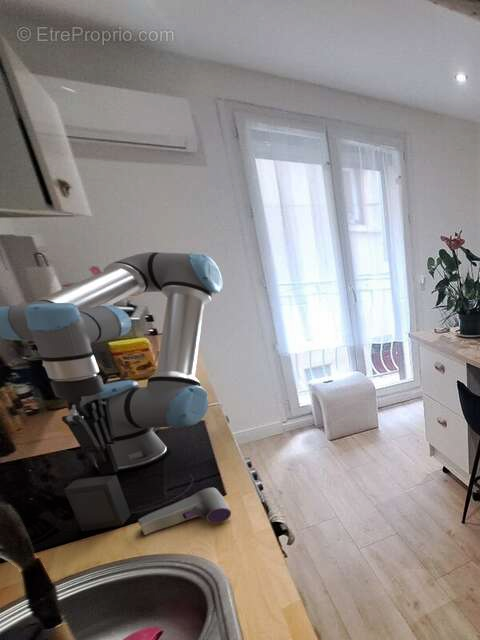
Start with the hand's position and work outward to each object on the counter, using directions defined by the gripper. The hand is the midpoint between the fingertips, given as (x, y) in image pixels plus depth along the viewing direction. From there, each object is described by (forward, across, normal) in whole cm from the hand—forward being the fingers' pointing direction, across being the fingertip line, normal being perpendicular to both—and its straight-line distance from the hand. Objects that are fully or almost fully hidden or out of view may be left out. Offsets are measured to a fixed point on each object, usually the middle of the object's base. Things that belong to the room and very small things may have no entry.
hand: (109, 472), depth 96 cm
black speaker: (+10, +7, 0) cm, 12 cm away
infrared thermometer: (+10, +13, +17) cm, 24 cm away
